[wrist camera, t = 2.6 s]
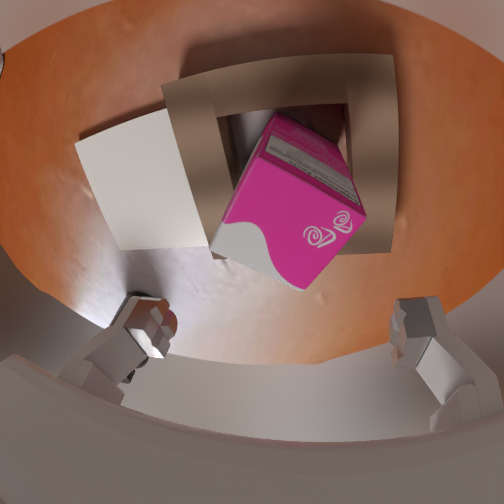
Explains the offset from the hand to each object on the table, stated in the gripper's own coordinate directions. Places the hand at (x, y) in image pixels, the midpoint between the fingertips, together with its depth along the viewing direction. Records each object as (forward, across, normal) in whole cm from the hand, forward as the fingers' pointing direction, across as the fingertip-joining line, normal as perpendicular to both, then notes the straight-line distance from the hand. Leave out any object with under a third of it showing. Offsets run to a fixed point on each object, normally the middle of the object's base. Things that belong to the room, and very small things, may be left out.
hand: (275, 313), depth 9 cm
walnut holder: (+16, 0, 0) cm, 16 cm away
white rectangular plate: (+15, +15, +1) cm, 22 cm away
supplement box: (+16, 0, 0) cm, 16 cm away
